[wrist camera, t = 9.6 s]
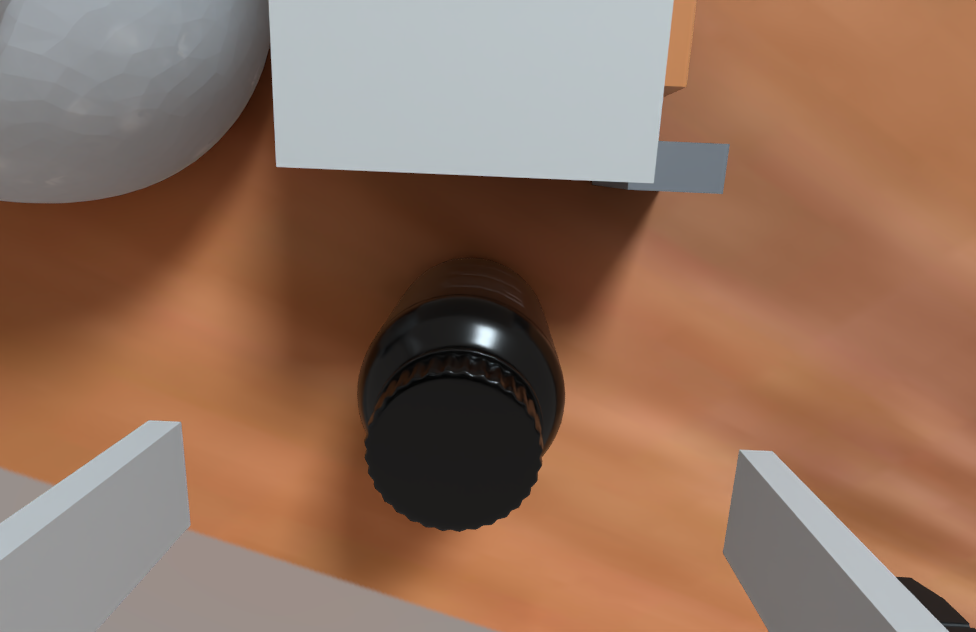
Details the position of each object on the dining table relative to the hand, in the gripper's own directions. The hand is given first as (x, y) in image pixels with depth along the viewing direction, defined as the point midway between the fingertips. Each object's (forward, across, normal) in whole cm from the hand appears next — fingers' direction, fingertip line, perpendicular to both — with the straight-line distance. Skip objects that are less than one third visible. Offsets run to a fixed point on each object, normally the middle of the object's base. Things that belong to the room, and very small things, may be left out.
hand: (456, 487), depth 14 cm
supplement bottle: (+14, 0, 0) cm, 14 cm away
